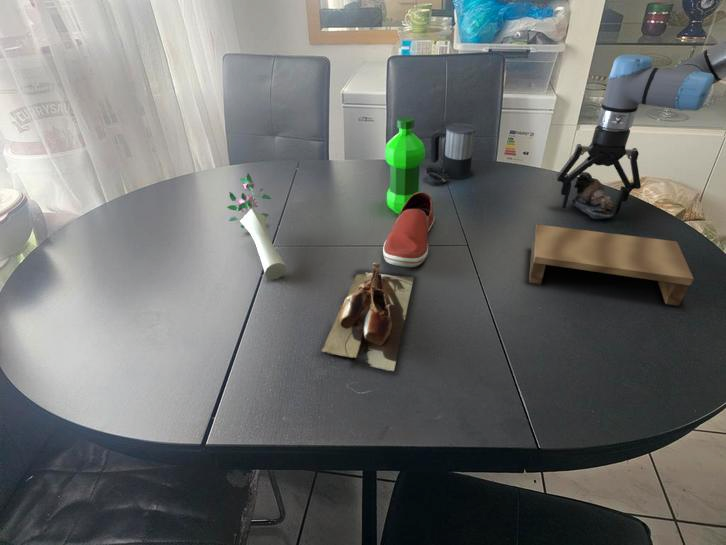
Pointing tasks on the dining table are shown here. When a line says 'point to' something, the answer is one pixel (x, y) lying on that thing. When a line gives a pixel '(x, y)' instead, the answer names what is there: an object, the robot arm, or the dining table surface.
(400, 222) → the slip on shoe
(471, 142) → the milk frother
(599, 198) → the bison figurine
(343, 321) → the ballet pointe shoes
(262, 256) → the flower vase
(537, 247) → the oak shelf
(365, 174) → the dining table surface
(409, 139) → the plastic bottle
